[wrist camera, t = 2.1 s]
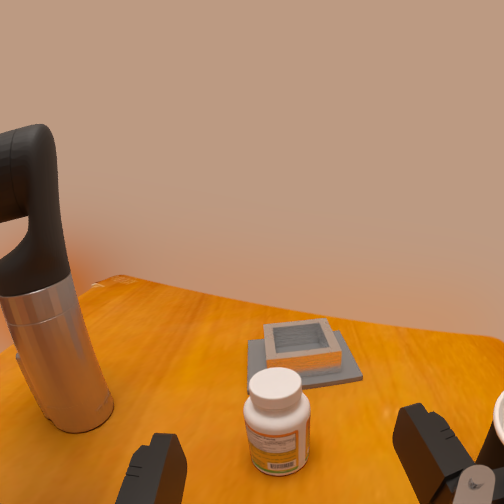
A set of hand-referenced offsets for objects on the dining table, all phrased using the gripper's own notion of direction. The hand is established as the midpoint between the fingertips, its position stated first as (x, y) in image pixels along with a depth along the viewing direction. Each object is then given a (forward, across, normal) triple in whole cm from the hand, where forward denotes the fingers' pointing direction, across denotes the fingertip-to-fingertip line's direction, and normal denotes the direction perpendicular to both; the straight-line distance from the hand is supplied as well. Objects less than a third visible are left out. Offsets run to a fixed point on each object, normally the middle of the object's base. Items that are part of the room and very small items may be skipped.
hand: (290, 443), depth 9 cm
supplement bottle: (+12, 0, +16) cm, 19 cm away
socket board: (+28, -4, +16) cm, 32 cm away
